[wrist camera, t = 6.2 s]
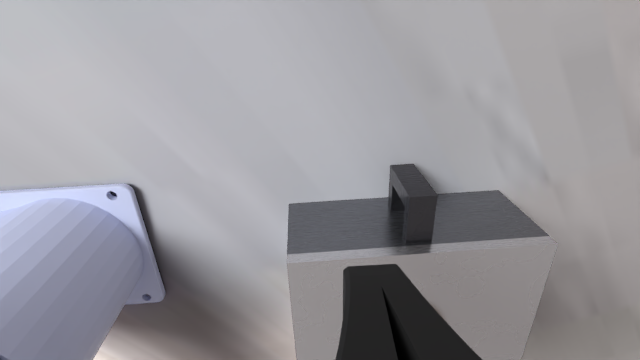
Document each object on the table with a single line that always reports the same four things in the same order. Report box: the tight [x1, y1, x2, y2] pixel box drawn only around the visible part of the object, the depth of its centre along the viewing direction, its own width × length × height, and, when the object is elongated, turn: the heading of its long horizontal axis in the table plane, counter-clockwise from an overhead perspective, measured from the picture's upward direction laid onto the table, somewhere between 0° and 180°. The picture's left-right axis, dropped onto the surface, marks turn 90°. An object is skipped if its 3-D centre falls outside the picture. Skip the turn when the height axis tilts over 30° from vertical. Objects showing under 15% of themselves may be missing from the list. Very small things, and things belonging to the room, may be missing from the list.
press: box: [287, 164, 558, 360], centre depth 20 cm, size 12×14×5 cm
